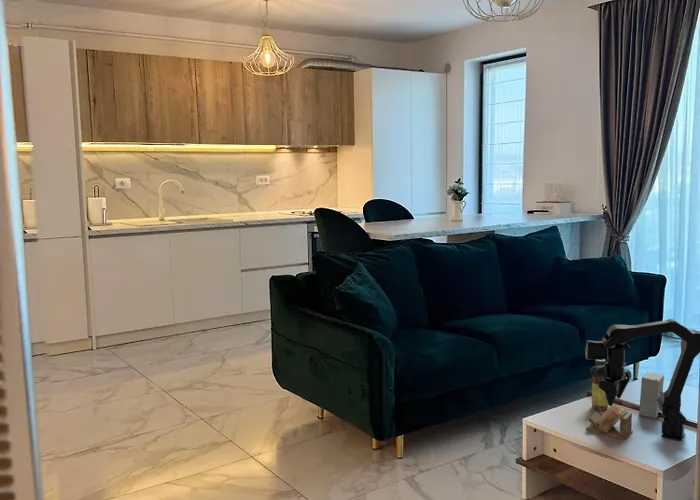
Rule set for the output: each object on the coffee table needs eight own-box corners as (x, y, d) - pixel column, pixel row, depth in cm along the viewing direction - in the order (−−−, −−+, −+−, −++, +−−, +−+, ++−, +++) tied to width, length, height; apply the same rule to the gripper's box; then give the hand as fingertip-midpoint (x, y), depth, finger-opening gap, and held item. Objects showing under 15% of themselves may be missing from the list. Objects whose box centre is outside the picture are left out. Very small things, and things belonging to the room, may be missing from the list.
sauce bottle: (609, 411, 253) (610, 362, 250) (592, 410, 254) (594, 362, 252) (606, 405, 259) (607, 358, 257) (590, 404, 260) (591, 357, 258)
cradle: (632, 432, 232) (633, 409, 231) (626, 439, 227) (627, 416, 226) (593, 423, 241) (593, 401, 240) (586, 429, 236) (586, 407, 235)
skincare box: (644, 408, 255) (645, 370, 253) (663, 412, 250) (665, 374, 248) (637, 415, 248) (639, 376, 246) (657, 419, 244) (659, 379, 242)
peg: (622, 412, 232) (613, 404, 234) (618, 415, 229) (609, 407, 231) (608, 426, 236) (599, 418, 237) (605, 429, 233) (596, 421, 234)
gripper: (601, 350, 242) (600, 390, 244) (584, 362, 228) (583, 404, 230) (632, 355, 235) (630, 396, 237) (616, 368, 221) (615, 411, 223)
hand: (614, 401), depth 232 cm, fingers open, 9 cm apart
